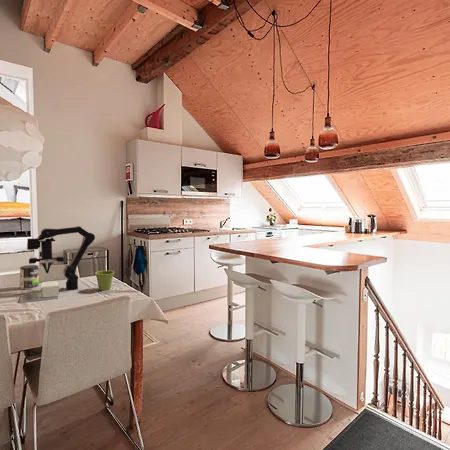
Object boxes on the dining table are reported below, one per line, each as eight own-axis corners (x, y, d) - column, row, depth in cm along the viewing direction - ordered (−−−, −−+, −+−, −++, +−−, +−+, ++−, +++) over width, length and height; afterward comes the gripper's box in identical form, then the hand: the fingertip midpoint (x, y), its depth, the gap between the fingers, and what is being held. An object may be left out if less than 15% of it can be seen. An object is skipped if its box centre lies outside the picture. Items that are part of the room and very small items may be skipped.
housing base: (58, 292, 191) (58, 287, 191) (57, 298, 179) (57, 292, 179) (22, 296, 182) (22, 290, 182) (19, 302, 171) (19, 296, 170)
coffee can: (42, 286, 205) (42, 265, 204) (30, 290, 195) (29, 268, 194) (29, 285, 207) (29, 264, 206) (16, 289, 197) (16, 267, 196)
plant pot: (98, 293, 192) (98, 275, 191) (92, 288, 201) (92, 272, 200) (117, 289, 200) (117, 272, 199) (110, 286, 209) (110, 269, 208)
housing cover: (59, 290, 191) (59, 280, 191) (58, 295, 180) (58, 285, 179) (42, 291, 187) (42, 282, 186) (41, 297, 176) (40, 287, 175)
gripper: (63, 246, 202) (64, 269, 203) (30, 247, 193) (31, 272, 194) (63, 248, 192) (64, 272, 193) (28, 250, 183) (29, 275, 184)
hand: (47, 273), depth 191 cm, fingers closed
